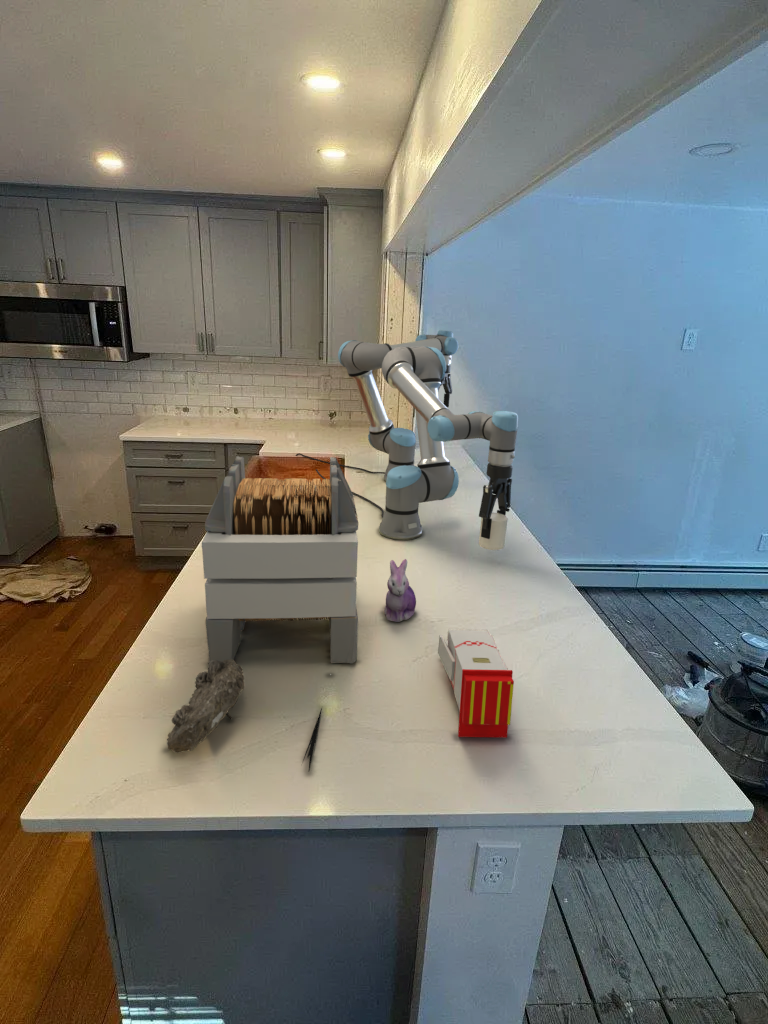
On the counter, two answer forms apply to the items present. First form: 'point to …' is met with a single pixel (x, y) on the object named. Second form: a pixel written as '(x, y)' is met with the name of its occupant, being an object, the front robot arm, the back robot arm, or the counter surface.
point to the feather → (313, 740)
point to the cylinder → (495, 533)
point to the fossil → (206, 705)
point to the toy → (478, 682)
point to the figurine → (399, 594)
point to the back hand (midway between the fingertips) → (439, 408)
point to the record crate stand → (281, 558)
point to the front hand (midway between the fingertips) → (492, 533)
